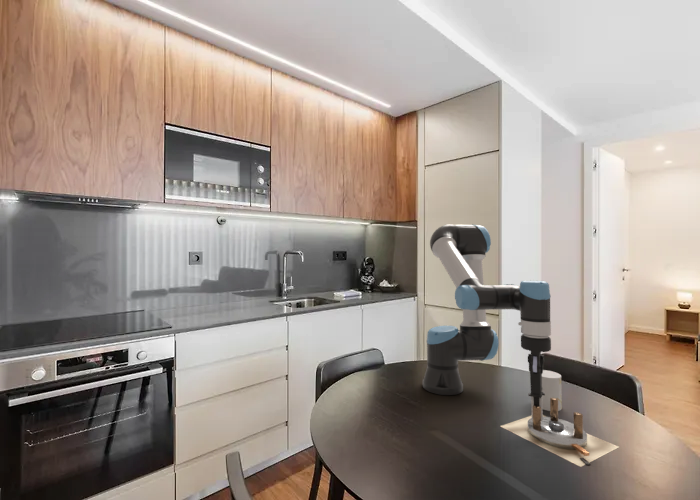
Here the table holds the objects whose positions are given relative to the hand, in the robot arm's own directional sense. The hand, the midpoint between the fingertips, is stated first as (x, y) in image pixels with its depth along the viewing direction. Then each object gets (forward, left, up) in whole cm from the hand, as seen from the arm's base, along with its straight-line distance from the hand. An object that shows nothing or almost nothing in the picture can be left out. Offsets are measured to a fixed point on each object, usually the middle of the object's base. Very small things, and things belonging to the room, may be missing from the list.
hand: (537, 418), depth 97 cm
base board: (+4, +2, -5) cm, 7 cm away
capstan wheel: (+6, +1, -3) cm, 7 cm away
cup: (-9, +19, -5) cm, 22 cm away
